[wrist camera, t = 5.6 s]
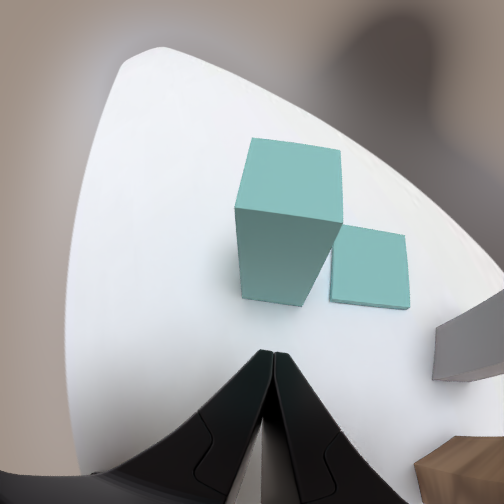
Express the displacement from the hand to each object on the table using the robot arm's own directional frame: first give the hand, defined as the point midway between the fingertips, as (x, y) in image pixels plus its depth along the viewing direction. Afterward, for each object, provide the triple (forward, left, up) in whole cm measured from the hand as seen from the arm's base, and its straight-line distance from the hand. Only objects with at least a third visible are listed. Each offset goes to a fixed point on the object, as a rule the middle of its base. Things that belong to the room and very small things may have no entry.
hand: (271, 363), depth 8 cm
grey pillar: (+1, -15, -10) cm, 18 cm away
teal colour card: (+8, -8, -10) cm, 15 cm away
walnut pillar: (-8, -14, -10) cm, 19 cm away
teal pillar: (+7, -1, -10) cm, 12 cm away
